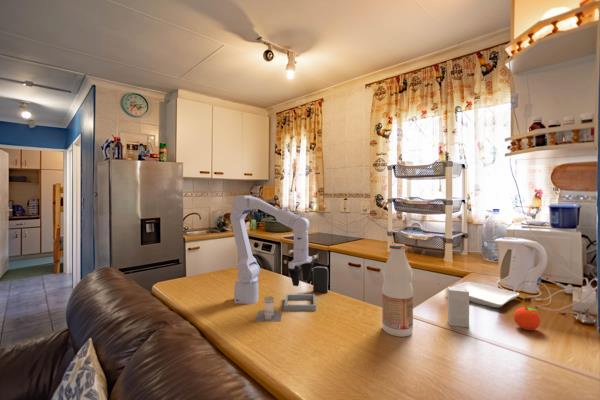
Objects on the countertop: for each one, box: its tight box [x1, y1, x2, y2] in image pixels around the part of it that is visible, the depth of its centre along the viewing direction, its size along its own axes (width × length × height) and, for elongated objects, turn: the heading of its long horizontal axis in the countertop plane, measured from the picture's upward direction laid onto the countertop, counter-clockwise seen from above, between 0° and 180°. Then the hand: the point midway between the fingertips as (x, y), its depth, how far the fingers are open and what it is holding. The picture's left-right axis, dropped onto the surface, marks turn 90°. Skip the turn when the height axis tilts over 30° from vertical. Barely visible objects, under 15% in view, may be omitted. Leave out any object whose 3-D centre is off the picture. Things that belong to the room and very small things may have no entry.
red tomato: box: [513, 306, 543, 331], centre depth 95 cm, size 8×7×7 cm
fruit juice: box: [381, 243, 414, 337], centre depth 95 cm, size 9×9×28 cm
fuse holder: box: [254, 310, 283, 322], centre depth 105 cm, size 9×9×3 cm
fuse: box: [263, 296, 275, 317], centre depth 105 cm, size 3×3×6 cm
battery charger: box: [312, 265, 329, 294], centre depth 133 cm, size 7×4×11 cm, turn 79°
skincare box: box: [446, 286, 470, 328], centre depth 99 cm, size 6×4×12 cm
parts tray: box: [283, 293, 317, 312], centre depth 116 cm, size 12×12×3 cm
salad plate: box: [445, 281, 520, 308], centre depth 124 cm, size 21×21×3 cm
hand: (300, 283), depth 114 cm, fingers open, 7 cm apart
